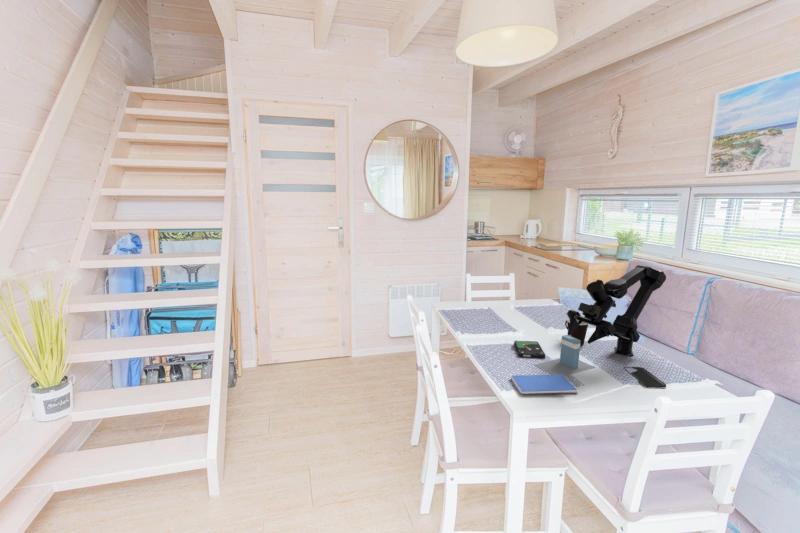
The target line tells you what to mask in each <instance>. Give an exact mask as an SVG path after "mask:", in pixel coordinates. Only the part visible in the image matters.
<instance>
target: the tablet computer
mask: <svg viewBox="0 0 800 533" xmlns="http://www.w3.org/2000/svg"><path fill="white" fill-rule="evenodd" d="M510 380H511V381H512V382H513V385H515V387H516V389H517V390H518V391H519V393H520V394H522V395H526V394H527V395H529V394H530V395H531V394H534V395H535V394H563V393H564V394H565V393H567V394H568V393H570V394H571V393H574V394H575V393H579V390H578V388H577V387H576V386H575V385H574V384H573V383H572V382H571V381H570V380H569V379H568V378H567V377H566V376H564V375H563V374H550V373H548V374H526V375H525V374H524V375H523V374H521V375H519V374H517V375H511V376H510Z"/></svg>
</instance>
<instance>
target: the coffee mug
mask: <svg viewBox="0 0 800 533" xmlns="http://www.w3.org/2000/svg"><path fill="white" fill-rule="evenodd" d="M564 324H565V328H566V330H567V331H568V330H569V326H570V319H569V318H568V319H566V320H565V323H564ZM579 325H580V326H579V327H578V328H577V329H576V330H575V331H574V332H573V333H572V334H571V335H570V336H571V337H574V338H576V339H579V340H581V342H580V347H581V346H584V345H585V340H586V335H587V332H588V328H589V324H588V323H585V322H582V323H581V324H579Z"/></svg>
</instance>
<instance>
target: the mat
mask: <svg viewBox="0 0 800 533" xmlns="http://www.w3.org/2000/svg"><path fill="white" fill-rule="evenodd" d="M533 366H534V367H537V368H539V369H540V370H543V372H546V373H547V374H563V375H564V376H565V377H566V376H569V375H574V374H577V373H580V372H584V371H587V370H588V371H589V370H591V369H594V368H596V367H595V366H593V365H591V364H589V363H587V362H584V361H582V360H580V359H579V362H578V368H574V369H573V368H570V367H568V366H566V365H564V364H562V363H560V357H559V358H555V359H551V360H545V361H543V362H539V363H535V364H534V363H533Z"/></svg>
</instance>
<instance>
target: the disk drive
mask: <svg viewBox="0 0 800 533" xmlns="http://www.w3.org/2000/svg"><path fill="white" fill-rule="evenodd" d="M513 346H515V347H514V349H515V348H516V349H515V351H516V352H517V354H518V357H519V358H530V359H531V358H532V359H546V354H545V352H544V350H543V348H542V346H541V345H540V343H539V341H536V340H535V341H534V340H533V341H531V340H514V341H513Z"/></svg>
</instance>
